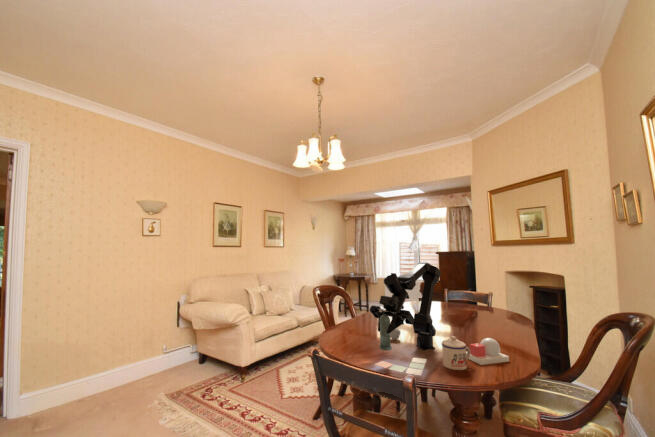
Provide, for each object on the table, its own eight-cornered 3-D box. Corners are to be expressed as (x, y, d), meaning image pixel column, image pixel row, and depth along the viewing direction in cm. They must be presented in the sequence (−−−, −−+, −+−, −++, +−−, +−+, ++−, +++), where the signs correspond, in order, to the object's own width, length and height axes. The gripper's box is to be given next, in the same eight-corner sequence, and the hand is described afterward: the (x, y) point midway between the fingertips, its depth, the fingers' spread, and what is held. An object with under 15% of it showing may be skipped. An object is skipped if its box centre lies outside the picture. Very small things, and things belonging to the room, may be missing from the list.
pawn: (390, 346, 122) (389, 313, 123) (392, 350, 117) (391, 316, 118) (379, 346, 122) (378, 313, 124) (379, 350, 118) (379, 316, 119)
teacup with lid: (452, 373, 112) (451, 340, 114) (437, 364, 121) (436, 334, 122) (479, 369, 116) (477, 338, 117) (462, 361, 124) (461, 332, 125)
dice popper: (490, 353, 133) (489, 334, 134) (509, 361, 123) (507, 340, 124) (463, 356, 129) (462, 336, 130) (480, 365, 120) (479, 343, 121)
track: (422, 357, 128) (422, 356, 128) (448, 373, 112) (448, 372, 112) (371, 363, 122) (371, 361, 122) (391, 381, 106) (391, 379, 106)
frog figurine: (390, 337, 159) (390, 323, 160) (403, 339, 155) (402, 325, 156) (385, 339, 155) (385, 325, 156) (397, 342, 150) (397, 327, 151)
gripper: (371, 286, 132) (355, 316, 123) (409, 290, 118) (394, 324, 109) (382, 302, 136) (367, 332, 127) (420, 307, 123) (406, 341, 114)
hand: (383, 332), depth 119 cm, fingers closed on pawn, 4 cm apart
